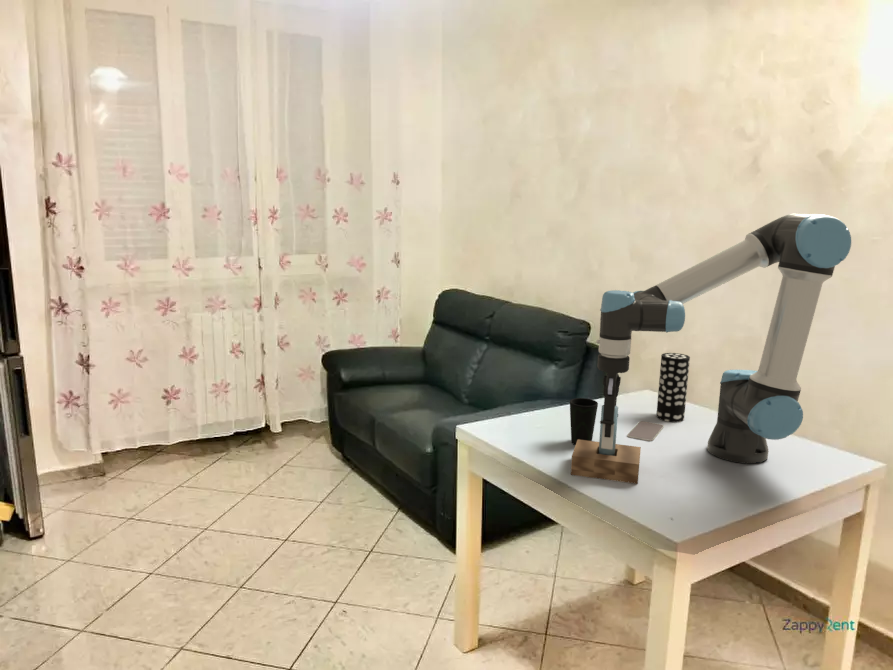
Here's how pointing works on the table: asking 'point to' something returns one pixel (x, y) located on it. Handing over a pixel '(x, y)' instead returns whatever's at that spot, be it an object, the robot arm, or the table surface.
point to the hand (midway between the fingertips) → (607, 445)
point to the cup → (582, 419)
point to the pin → (609, 451)
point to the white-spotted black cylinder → (672, 387)
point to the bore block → (606, 462)
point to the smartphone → (645, 431)
